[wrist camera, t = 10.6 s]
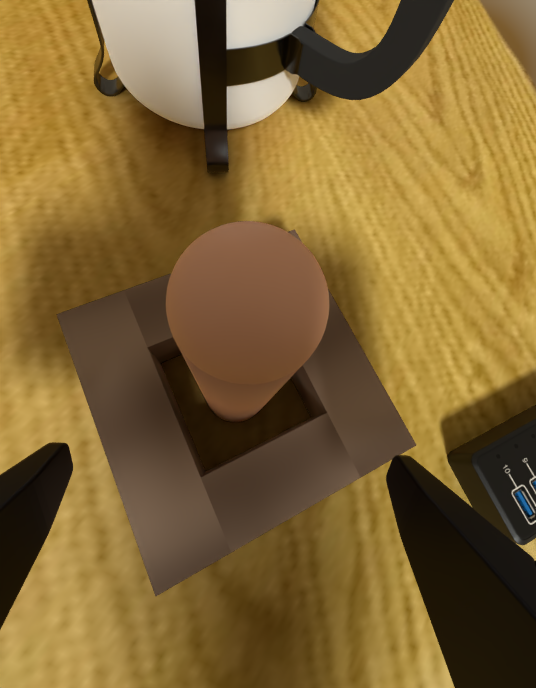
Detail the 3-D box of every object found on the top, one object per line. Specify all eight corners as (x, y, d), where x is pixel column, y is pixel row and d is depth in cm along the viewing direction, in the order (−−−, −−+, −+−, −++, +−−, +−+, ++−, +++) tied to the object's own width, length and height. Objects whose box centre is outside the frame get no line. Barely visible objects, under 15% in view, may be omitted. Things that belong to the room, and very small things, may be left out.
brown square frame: (385, 444, 18) (416, 445, 15) (169, 567, 15) (155, 596, 12) (285, 259, 20) (294, 229, 17) (84, 335, 17) (56, 314, 15)
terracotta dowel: (276, 405, 18) (390, 314, 5) (220, 432, 17) (198, 402, 4) (250, 352, 18) (297, 160, 6) (195, 376, 17) (117, 214, 5)
